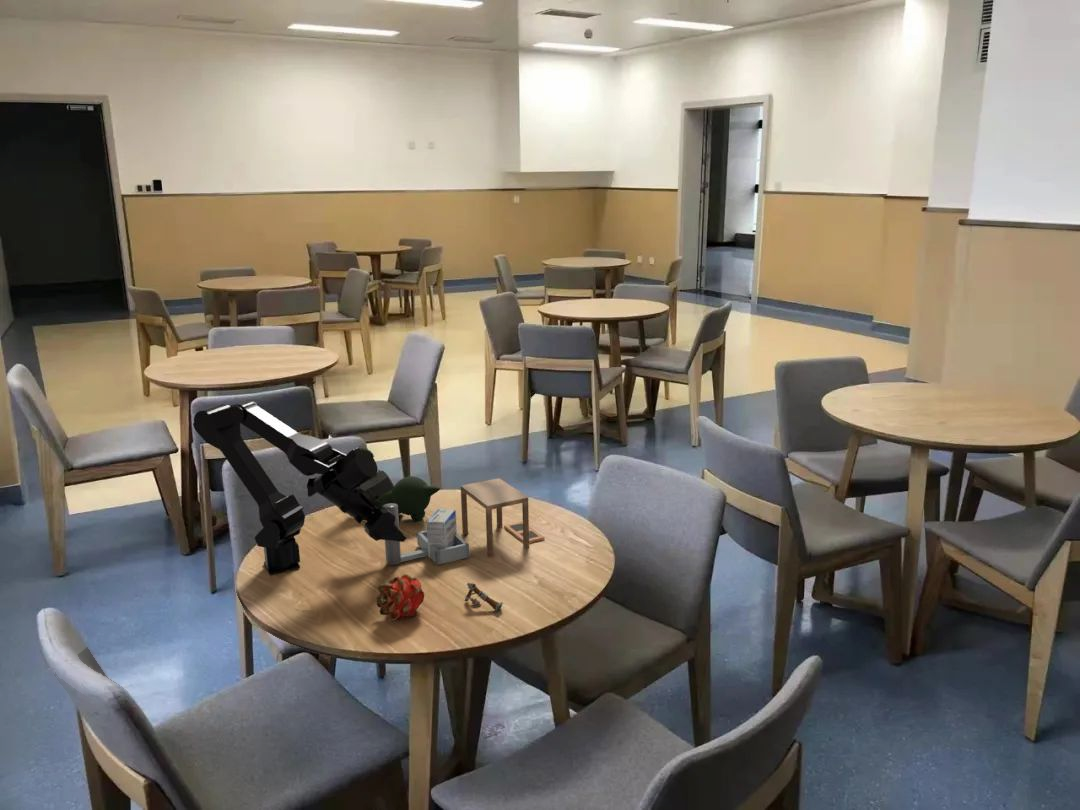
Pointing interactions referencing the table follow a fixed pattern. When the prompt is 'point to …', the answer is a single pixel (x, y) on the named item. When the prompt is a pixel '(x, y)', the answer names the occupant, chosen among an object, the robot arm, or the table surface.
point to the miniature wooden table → (494, 505)
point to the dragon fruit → (400, 597)
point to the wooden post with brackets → (482, 596)
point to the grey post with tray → (423, 546)
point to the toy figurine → (408, 495)
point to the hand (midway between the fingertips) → (397, 532)
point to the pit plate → (518, 532)
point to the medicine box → (441, 529)
